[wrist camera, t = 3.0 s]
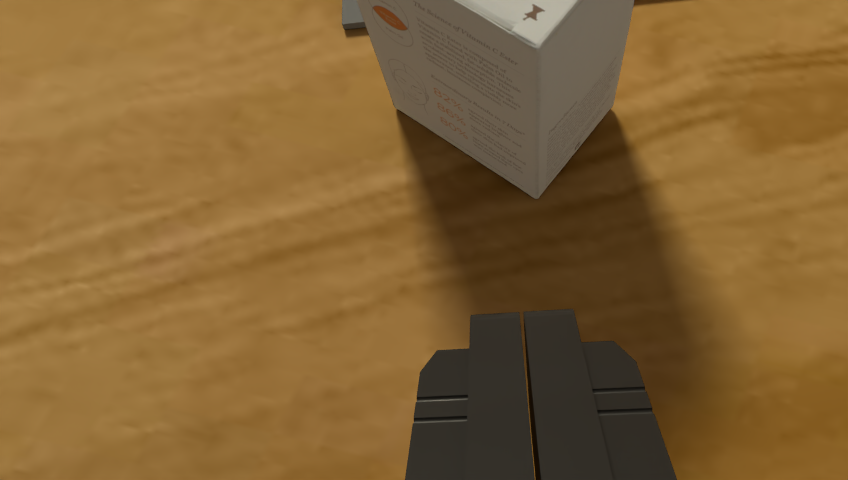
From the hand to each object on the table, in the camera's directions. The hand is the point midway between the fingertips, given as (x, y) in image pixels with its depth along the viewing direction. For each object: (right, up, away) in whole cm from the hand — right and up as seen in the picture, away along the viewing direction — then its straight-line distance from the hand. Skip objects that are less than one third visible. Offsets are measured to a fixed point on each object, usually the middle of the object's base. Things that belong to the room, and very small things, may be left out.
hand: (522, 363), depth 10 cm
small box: (+2, +8, +20) cm, 21 cm away
